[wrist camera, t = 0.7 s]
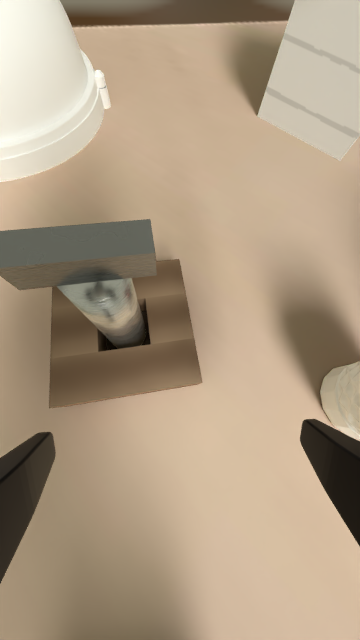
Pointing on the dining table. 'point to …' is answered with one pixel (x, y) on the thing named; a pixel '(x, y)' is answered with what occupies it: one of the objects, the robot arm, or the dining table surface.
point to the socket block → (127, 363)
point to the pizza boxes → (318, 76)
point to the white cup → (343, 398)
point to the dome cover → (44, 89)
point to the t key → (87, 270)
